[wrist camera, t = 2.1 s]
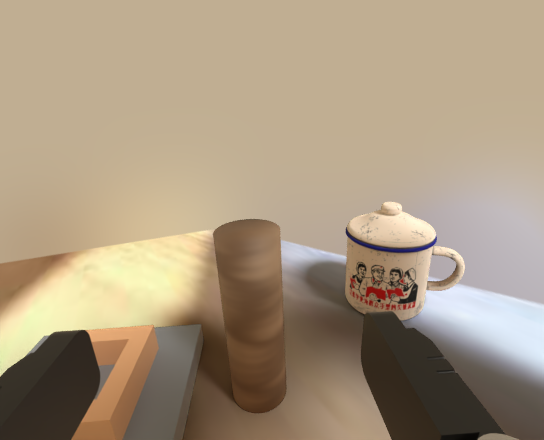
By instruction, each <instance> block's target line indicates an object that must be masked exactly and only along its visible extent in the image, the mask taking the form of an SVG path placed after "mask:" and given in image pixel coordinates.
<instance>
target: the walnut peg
mask: <svg viewBox="0 0 544 440" xmlns="http://www.w3.org/2000/svg"><path fill="white" fill-rule="evenodd" d="M213 237H214V245H215V253H216V261H217V269H218V277H219V285H220V293H221V301H222V309H223V317H224V325H225V333H226V341H227V349H228V357H229V366H230V374H231V382H232V390H233V396H234V399H235V401H236V403H237V404H238V405H239V406H240V407H241V408H242V409H244V410H245V411H248V412H251V413H264V412H268V411H270V410H272V409H274V408H275V407H277V406H278V405H279V404H280V403H281V402H282V400H283V399H284V396H285V394H286V367H285V341H284V316H283V291H282V266H281V241H280V227H279V226H278V225H277V224H275V223H273V222H271V221H267V220H260V219H246V220H238V221H233V222H229V223H226V224H224V225H222V226H220V227H218V228H217V229H216V230H215V231H214V233H213Z"/></svg>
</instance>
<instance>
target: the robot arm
mask: <svg viewBox="0 0 544 440" xmlns="http://www.w3.org/2000/svg"><path fill="white" fill-rule="evenodd" d="M361 362H362V368H363V372H364V375H365V378H366V380H367V383H368V385H369V387H370V390H371V392H372V394H373V397H374V399H375V401H376V404H377V406H378V408H379V411H380V413H381V415H382V418H383V420H384V423H385V425H386V427H387V430H388V432H389V434H390V437H391V439H392V440H519V439H517V438H514V437H511V436H508V435H506V434H505V433H504V432H503V431H502V430H501V428H500V427H499V426H498V424H497V423H496V422H495V421H494V419H493V418H492V417H491V416H490V414H489V413H488V412H487V411H486V409H485V408H484V407H483V405H482V404H481V403H480V402H479V400H478V399H477V398H476V397H475V395H474V394H473V393H472V392H471V390H470V389H469V388H468V386H467V385H466V384H465V383H464V381H463V380H462V379H461V378H460V376H459V375H458V374H457V373H455V372H454V369H453V367H452V366H451V365H450V364H449V362H448V361H447V360H446V359H444V356H443V355H442V353H441V352H440V351H439V350H438V348H437V347H436V346H435V345H434V343H433V342H432V341H431V340H430V339H428V338H427V337H426V336H424V335H423V334H422V333H420V332H419V331H417V330H416V329H415V328H408V329H406V328H405V327H404V325H403V324H402V322H401V321H400V320H399V318H398V317H397V315H396V314H395V313H394V312H393V311H384V312H369V313H366V314H365V316H364V324H363V336H362V348H361ZM99 385H100V370H99V366H98V363H97V359H96V356H95V352H94V349H93V345H92V342H91V339H90V335H89V333H88V332H87V331H85V330H76V331H61V332H54V333H52V334H51V335H50V336H49V337H48V338H47V339H46V340H45V341H44V342H43V343H42V344H41V345H40V346H39V348H38V349H37V350H36V351H35V352H34V353H30V354H29V355H27V356H26V357H24V358H23V359H21V360H20V361H18V362H17V363H16V364H14V365H13V366H11V367H10V368H8V369H7V370H6V371H5V372H4V373H3V375H2V376H1V377H0V440H71V439H72V437H73V436H74V434H75V432H76V430H77V428H78V427H79V425H80V423H81V421H82V420H83V418H84V416H85V414H86V412H87V411H88V409H89V407H90V405H91V404H92V402H93V400H94V398H95V396H96V394H97V392H98V389H99Z"/></svg>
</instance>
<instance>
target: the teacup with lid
mask: <svg viewBox="0 0 544 440" xmlns="http://www.w3.org/2000/svg"><path fill="white" fill-rule="evenodd" d="M346 234H347V236H348V240H347V262H346V283H345V295H346V298H347V300H348V302H349V303H350V304H351V305H352V306H353V307H354V308H355V309H356V310H358V311H359V312H361V313H363V314H366V313H369V312H384V311H393V312H394V313H395V314H396V315H397V317H398V318H399V320H400V321H402V320H407V319H410V318H413V317H415V316H416V315H418V314H419V313H420V312H421V310H422V309H423V306H424V300H425V294H426V290H431V291H442V290H446V289H449V288H451V287H453V286H454V285H456V284H457V283H458V282H459V281H460V279H461V278H462V276H463V274H464V269H465V264H464V261H463V258H462V257H461V256H460V255H459V254H458V253H457V252H456V251H454V250H452V249H450V248H446V247H439V246H433V245H434V244H435V243H436V240H437V237H436V233H435V231H434V229H433V227H432V226H431V225H429V224H428V223H426V222H424V221H423V220H420V219H418V218H415V217H412V216H410V215H409V214H407V213H405V212H402V206H401V205H400V204H399V203H395V202H386V203H383V204H382V206H381V210H378V211H374V212H372V213H370V214H364V215H360V216H357V217H355V218H353V219H352V220H351V221H350V222H349V223H348V225H347V227H346ZM431 255H439V256H446V257H449V258H451V259H453V260H454V261H455V262H456V268H455V271H454V272H453V274H452V275H451V276H450V277H449V278H447V279H445V280H442V281H428V274H429V268H430V262H431Z"/></svg>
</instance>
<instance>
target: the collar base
mask: <svg viewBox="0 0 544 440" xmlns="http://www.w3.org/2000/svg"><path fill="white" fill-rule="evenodd" d="M85 331H87V332H88V333H89V335H90V339H91V342H92V345H93V349H94V352H95V356H96V359H97V363H98V366H99V370H100V385H99V389H98V392H97V394H96V396H95V398H94V400H93V402H92V404H91V405H90V407H89V409H88V411H87V412H86V414H85V416H84V418H83V420H82V421H81V423H80V425H79V427H78V428H77V430H76V432H75V434H74V436H73V437H72V439H71V440H182V439H183V435H184V430H185V425H186V421H187V416H188V411H189V407H190V402H191V397H192V393H193V388H194V384H195V379H196V374H197V370H198V365H199V360H200V356H201V351H202V346H203V342H204V338H203V332H202V325H201V324H195V325H182V326H169V327H156V328H154V325H148V326H135V327H122V328H109V329H96V330H85ZM48 337H49V336H44V337H43V338H42V339H41V340H40V341H39V342H38V343H37V344H36V346H35V347H34V348H33V349H32V350H31V351H30V352H29V353H28V354H27V355H29V354H30V353H34V352H35V351H36V350H37V349H38V348H39V346H40V345H41V344H42V343H43V342H44V341H45V340H46V339H47V338H48ZM27 355H26V356H27ZM26 356H25V357H26Z"/></svg>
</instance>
